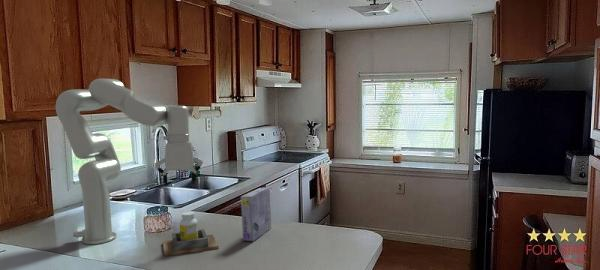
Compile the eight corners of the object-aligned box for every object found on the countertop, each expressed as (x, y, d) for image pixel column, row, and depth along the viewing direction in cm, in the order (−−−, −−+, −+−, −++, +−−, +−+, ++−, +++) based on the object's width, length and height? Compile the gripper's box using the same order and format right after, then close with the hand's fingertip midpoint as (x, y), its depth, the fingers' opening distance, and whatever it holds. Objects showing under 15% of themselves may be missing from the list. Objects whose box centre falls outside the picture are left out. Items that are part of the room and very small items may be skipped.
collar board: (164, 256, 151) (163, 245, 151) (162, 243, 164) (162, 233, 164) (218, 248, 157) (218, 237, 157) (212, 236, 171) (212, 227, 170)
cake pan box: (262, 226, 183) (260, 185, 181) (273, 227, 181) (271, 186, 179) (241, 241, 165) (239, 196, 163) (253, 242, 163) (251, 197, 161)
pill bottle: (182, 240, 164) (180, 211, 163) (199, 240, 164) (198, 210, 163) (179, 246, 157) (177, 216, 156) (197, 246, 158) (195, 215, 157)
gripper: (154, 140, 153) (155, 188, 154) (203, 139, 158) (204, 184, 160) (153, 138, 160) (155, 183, 161) (201, 137, 165) (202, 180, 167)
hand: (179, 184), depth 161 cm, fingers open, 9 cm apart
